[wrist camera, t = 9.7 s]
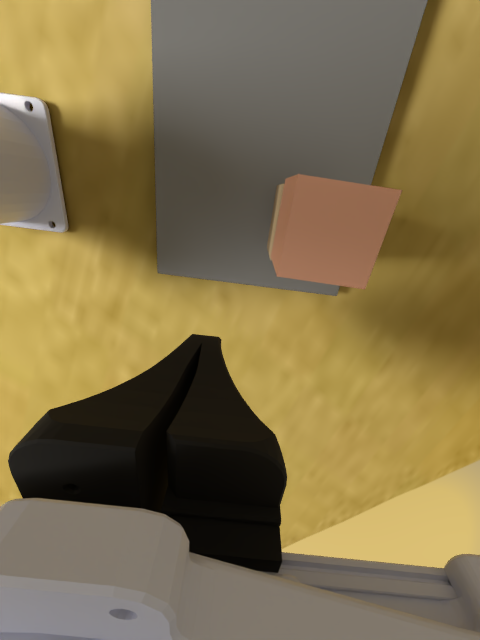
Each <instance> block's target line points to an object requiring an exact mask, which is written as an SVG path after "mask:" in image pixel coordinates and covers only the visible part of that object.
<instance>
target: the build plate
mask: <svg viewBox="0 0 480 640" xmlns="http://www.w3.org/2000/svg"><path fill="white" fill-rule="evenodd" d="M427 1H428V0H151V22H152V63H153V104H154V146H155V187H156V228H157V270H158V273H160V274H168V275H176V276H184V277H191V278H199V279H207V280H215V281H223V282H231V283H239V284H246V285H254V286H262V287H270V288H278V289H286V290H294V291H301V292H309V293H317V294H325V295H333V296H337V294H338V290H339V287H340V286H339V285H332V284H325V283H318V282H311V281H304V280H297V279H291V278H284V277H277V276H276V272H275V269H274V265H273V262H272V260H270V257H269V253H268V250H267V243H268V237H269V231H270V225H271V218H272V212H273V206H274V200H275V194H276V188H277V185H280V184H285V179H286V178H289V177H291V176H294V175H297V174H301V175H308V176H314V177H321V178H327V179H334V180H340V181H346V182H353V183H359V184H366V185H371V183H372V180H373V176H374V173H375V170H376V167H377V163H378V160H379V157H380V154H381V150H382V147H383V144H384V141H385V137H386V134H387V131H388V128H389V124H390V121H391V118H392V115H393V111H394V108H395V105H396V102H397V98H398V95H399V92H400V88H401V85H402V82H403V79H404V75H405V72H406V69H407V66H408V62H409V59H410V56H411V53H412V49H413V46H414V43H415V40H416V36H417V33H418V30H419V27H420V23H421V20H422V17H423V14H424V10H425V7H426V4H427Z"/></svg>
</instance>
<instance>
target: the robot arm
mask: <svg viewBox="0 0 480 640" xmlns="http://www.w3.org/2000/svg"><path fill="white" fill-rule="evenodd" d="M30 103H32V105H33V110H32V111H31V110H30V108H29V105H30ZM52 221H53V222H54V223H55V225H56V227H54V226H53V225H52ZM0 225H7V226H15V227H22V228H30V229H38V230H46V231H53V232H66V231H67V230H68V220H67V214H66V208H65V202H64V196H63V191H62V185H61V179H60V173H59V167H58V161H57V155H56V149H55V143H54V137H53V131H52V125H51V119H50V113H49V109H48V106H47V104H46V103H45V102H44V101H43V100H41V99H38V98H36V97H29V96H21V95H14V94H7V93H0ZM8 462H9V467H10V471H11V474H12V476H13V478H14V480H15V482H16V484H17V487H18V489H19V491H20V493H21V495H22V497H23V499H14V500H11V501H8V502H6V503H5V504H3V505H2V506H0V640H480V555H472V554H461V555H457V556H454V557H453V558H451V559H450V560H449V561H448V562H447V564H446V565H445V568H434V567H424V566H414V565H404V564H394V563H384V562H374V561H363V560H354V559H343V558H334V557H324V556H314V555H304V554H294V553H284V552H281V540H280V528H279V526H280V524H281V513H280V504H281V500H282V497H283V494H284V490H285V487H286V481H287V474H286V468H285V463H284V459H283V456H282V452H281V449H280V446H279V444H278V441H277V438H276V436H275V434H274V433H273V432H272V431H271V430H270V429H269V428H268V427H267V426H266V425H265V424H264V423H263V422H262V421H260V419H259V418H258V417H257V416H256V415H255V414H254V412H253V411H252V410H251V409H250V407H249V406H248V405H247V403H246V402H245V401H244V399H243V398H242V396H241V395H240V393H239V392H238V390H237V388H236V386H235V385H234V383H233V381H232V379H231V377H230V374H229V372H228V370H227V367H226V364H225V361H224V358H223V355H222V350H221V339H220V338H219V337H214V336H205V335H196V334H192V335H191V336H190V337H189V338H187V339H186V340H185V341H184V342H183V343H182V344H181V345H180V346H179V347H177V348H176V349H175V350H174V351H173V352H171V353H170V354H169V355H168V356H167V357H165V358H164V359H163V360H161V361H160V362H158V363H157V364H156V365H154V366H153V367H151V368H150V369H148V370H147V371H145V372H143V373H142V374H140V375H138V376H136V377H135V378H133V379H131V380H128V381H126V382H124V383H122V384H120V385H118V386H116V387H114V388H112V389H109V390H107V391H105V392H102V393H100V394H97V395H94V396H92V397H89V398H86V399H83V400H80V401H77V402H74V403H70V404H67V405H64V406H61V407H58V408H54V409H50V410H49V411H48V412H47V413H46V414H45V415H44V416H43V417H42V418H41V419H40V420H39V421H38V422H37V423H36V424H35V425H34V426H33V428H32V429H31V430H30V431H29V432H28V433H27V434H26V435H25V436H24V437H23V439H22V440H21V441H20V442H19V443H18V444H17V445H16V446H15V447H14V449H13V450H12V451H11V452H10V455H9V460H8Z"/></svg>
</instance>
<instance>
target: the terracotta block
mask: <svg viewBox="0 0 480 640" xmlns="http://www.w3.org/2000/svg"><path fill="white" fill-rule="evenodd" d="M401 192H402V190H398V189H391V188H385V187H378V186H372V185H366V184H359V183H353V182H346V181H340V180H334V179H327V178H321V177H314V176H308V175H301V174H297V175H294V176H291V177H289V178H286V179H285V184H284V189H283V195H282V200H281V205H280V210H279V216H278V221H277V226H276V232H275V237H274V242H273V247H272V253H271V259H272V262H273V265H274V269H275V272H276V276H277V277H284V278H291V279H297V280H304V281H311V282H318V283H325V284H332V285H339V286H345V287H352V288H359V289H365V288H366V285H367V283H368V280H369V277H370V275H371V272H372V269H373V267H374V264H375V261H376V259H377V256H378V253H379V251H380V248H381V245H382V243H383V240H384V237H385V235H386V232H387V229H388V227H389V224H390V221H391V219H392V216H393V213H394V211H395V208H396V205H397V203H398V200H399V197H400V195H401Z"/></svg>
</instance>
